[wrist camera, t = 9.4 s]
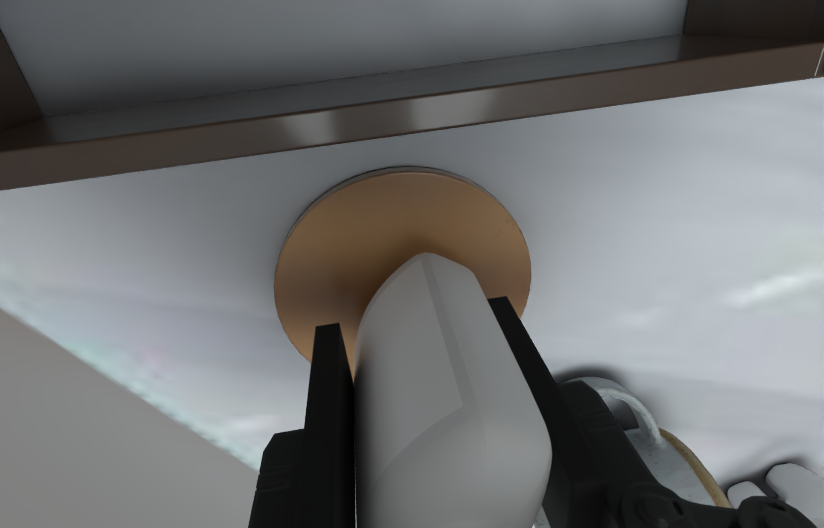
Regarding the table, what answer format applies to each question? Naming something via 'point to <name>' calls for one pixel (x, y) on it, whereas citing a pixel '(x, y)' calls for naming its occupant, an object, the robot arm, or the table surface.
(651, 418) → the ceramic mug
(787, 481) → the elephant figurine
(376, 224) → the coaster
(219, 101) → the dark wooden open box
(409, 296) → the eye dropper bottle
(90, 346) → the table surface
